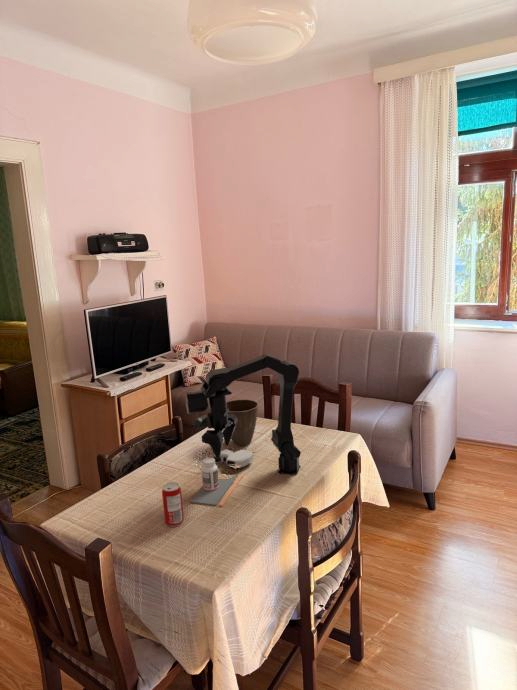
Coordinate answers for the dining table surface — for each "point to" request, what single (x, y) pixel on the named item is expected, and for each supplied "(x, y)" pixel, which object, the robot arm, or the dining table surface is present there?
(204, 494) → the mat
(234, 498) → the dining table surface
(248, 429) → the plant pot
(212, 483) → the pill bottle
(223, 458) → the robot toy
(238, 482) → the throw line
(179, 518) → the soda can
